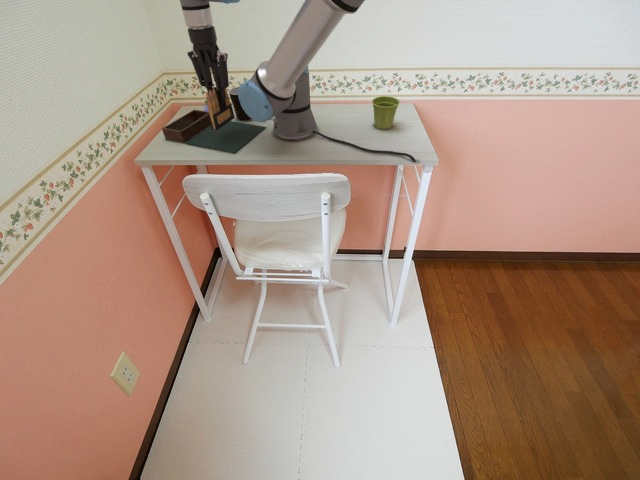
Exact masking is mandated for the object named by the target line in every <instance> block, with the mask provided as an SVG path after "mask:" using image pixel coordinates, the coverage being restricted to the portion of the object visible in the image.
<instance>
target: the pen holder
mask: <svg viewBox="0 0 640 480" xmlns="http://www.w3.org/2000/svg"><path fill="white" fill-rule="evenodd" d="M210 126H211V122H210V118H209V112H207V111H204V110H200V109H192V110H190V111H189V112H187V113H186V114H184V115H182V116H180V117H179V118H177V119H175V120H173V121H171V122H170V123H168V124H167V125H165V126H163V127H162V128H161V130H162V133H163V136H164V138H165V140H166V141H171V142H177V143H182V144H186V142H187V141H189V140H190V139H192V138H193V137H195V136H196V135H198V134H199V133H201V132H202V131H204V130H205V129H207V128H208V127H210Z"/></svg>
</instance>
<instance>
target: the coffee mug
mask: <svg viewBox="0 0 640 480" xmlns="http://www.w3.org/2000/svg"><path fill="white" fill-rule="evenodd" d="M239 87H240V86H236V87H232V88H230V89H229V90H228V96H229V99H230V102H231V104H232V108H233V111H234V114H235V116H236V120H238V121H239V122H249V121H251V120H252V119H251V118H250V117H249V116H248V115H247V114H246V113H245V111H244V110H243V108H242V106H241V104H240V101H239V97H238V90H239Z"/></svg>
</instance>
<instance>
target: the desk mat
mask: <svg viewBox="0 0 640 480" xmlns="http://www.w3.org/2000/svg"><path fill="white" fill-rule="evenodd" d="M265 129H266V126H263V125H256V124H251V123H243V122H239V121H232V120H231V121H229V122H228V123H227V124H225V125H224V126H222V127H221V128H220V129H218V130H213V129H212V126H211V125H210V126H209V127H207V128H206V129H204V130H203V131H201V132H200V133H198V134H197V135H195V136H194V137H192V138H191V139H189V140H188V141H186V142H185V145H188V146H194V147H199V148H205V149H210V150H215V151H218V152H219V151H220V152H225V153H229V154H233V155H234V154H236V153H238V152H239V151H240V150H241V149H242V148H243V147H245V146H246V145H247V144H248V143H250V142H251V141H252V140H253V139H254V138H255V137H257V136H258V135H259V134H260V133H261V132H263V131H264V130H265Z"/></svg>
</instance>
